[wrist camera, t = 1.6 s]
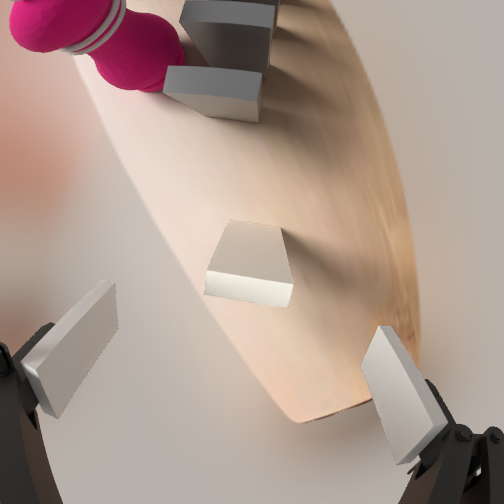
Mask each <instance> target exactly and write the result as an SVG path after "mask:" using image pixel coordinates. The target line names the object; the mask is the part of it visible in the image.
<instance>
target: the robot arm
mask: <svg viewBox="0 0 504 504" xmlns="http://www.w3.org/2000/svg"><path fill="white" fill-rule="evenodd" d="M118 329H119V328H118V318H117V306H116V289H115V283H114V282H110V281H105V280H101V281H100V282H99V283H98V284H97V285H96V286H95V287H94V288H93V289H92V290H90V291H89V292H88V293H87V294H86V295H85V296H84V297H83V298H82V299H81V300H80V301H79V302H78V303H77V304H76V305H75V306H74V307H72V309H70V310H69V311H68V312H67V314H65V315H64V316H63V317H62V318H61V319H60V320H59V321H58V323H56V324H54V323H51V322H50V323H48V324H46V325H44V326H43V327H41V328H40V329H39V330H38V331H37V332H36V333H35V335H33V336H32V337H31V338H30V339H29V341H27V342H26V343H25V344H24V345H23V346H22V347H21V348H20V349H19V350H18V351H17V352H16V353H15V355H14V356H13V357H12V358H11V355H10V353H9V350H8V347H7V346H6V345H5V344H4V343H1V342H0V504H63V502H62V499H61V497H60V494H59V491H58V489H57V486H56V483H55V480H54V477H53V474H52V471H51V468H50V465H49V461H48V458H47V454H46V451H45V446H44V443H43V439H42V434H41V430H40V425H39V420H38V414H37V411H36V409H35V408H36V406H37V405H38V403H39V404H40V406H41V408H42V410H43V412H45V413H47V414H49V415H51V416H53V417H55V418H57V419H59V417H60V416H61V414H62V413H63V411H64V409H65V408H66V406H67V405H68V403H69V401H70V399H71V398H72V397H73V395H74V393H75V392H76V390H77V389H78V387H79V386H80V384H81V383H82V381H83V379H84V378H85V376H86V375H87V373H88V372H89V370H90V369H91V367H92V366H93V364H94V363H95V361H96V360H97V359H98V357H99V356H100V354H101V353H102V351H103V350H104V348H105V347H106V345H107V344H108V343H109V341H110V340H111V338H112V337H113V336H114V334H115V333H116V331H117V330H118ZM360 367H361V370H362V372H363V375H364V377H365V380H366V382H367V385H368V387H369V390H370V393H371V395H372V398H373V401H374V403H375V406H376V409H377V411H378V414H379V417H380V419H381V422H382V425H383V428H384V430H385V434H386V436H387V439H388V442H389V445H390V448H391V451H392V454H393V457H394V460H395V463H396V465H400V464H405V463H410V462H411V461H413V460H414V459H415V458H416V456H418V455H419V457H420V459H421V460H420V461H419V462H418V463H417V464H416V465H415V466H414V467H413V468H411V469H410V470H409V471H408V473H407V474H410V473H411V472H412V471H414V472H413V474H412V476H411V479H410V481H409V483H408V485H407V487H406V489H405V491H404V494H403V496H402V497H401V500H400V501H399V503H398V504H504V434H503V432H502V431H501V430H500V429H499V428H497V427H489V428H488V429H487V430H486V431H485V432H484V433H483V434H473V433H472V431H471V430H470V429H469V428H468V427H467V426H465V425H462V424H456V422H455V421H454V419H453V417H452V415H451V413H450V411H449V410H448V408H447V406H446V405H445V403H444V402H443V399H442V397H441V396H439V392H438V391H437V389H436V387H435V386H434V385H433V384H432V383H431V382H430V381H429V380H428V379H424V378H423V377H422V375H421V373H420V371H419V370H418V368H417V366H416V365H415V363H414V361H413V360H412V358H411V357H410V355H409V353H408V352H407V350H406V348H405V347H404V345H403V344H402V342H401V341H400V339H399V337H398V336H397V334H396V333H395V331H394V330H393V328H392V327H391V326H384V325H379V326H378V328H377V331H376V333H375V335H374V338H373V340H372V342H371V344H370V346H369V348H368V351H367V353H366V355H365V357H364V359H363V361H362V363H361V365H360ZM480 468H481V473H480V474H479V475H478V476H477V474H476V471H477V470H479V469H480Z"/></svg>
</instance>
